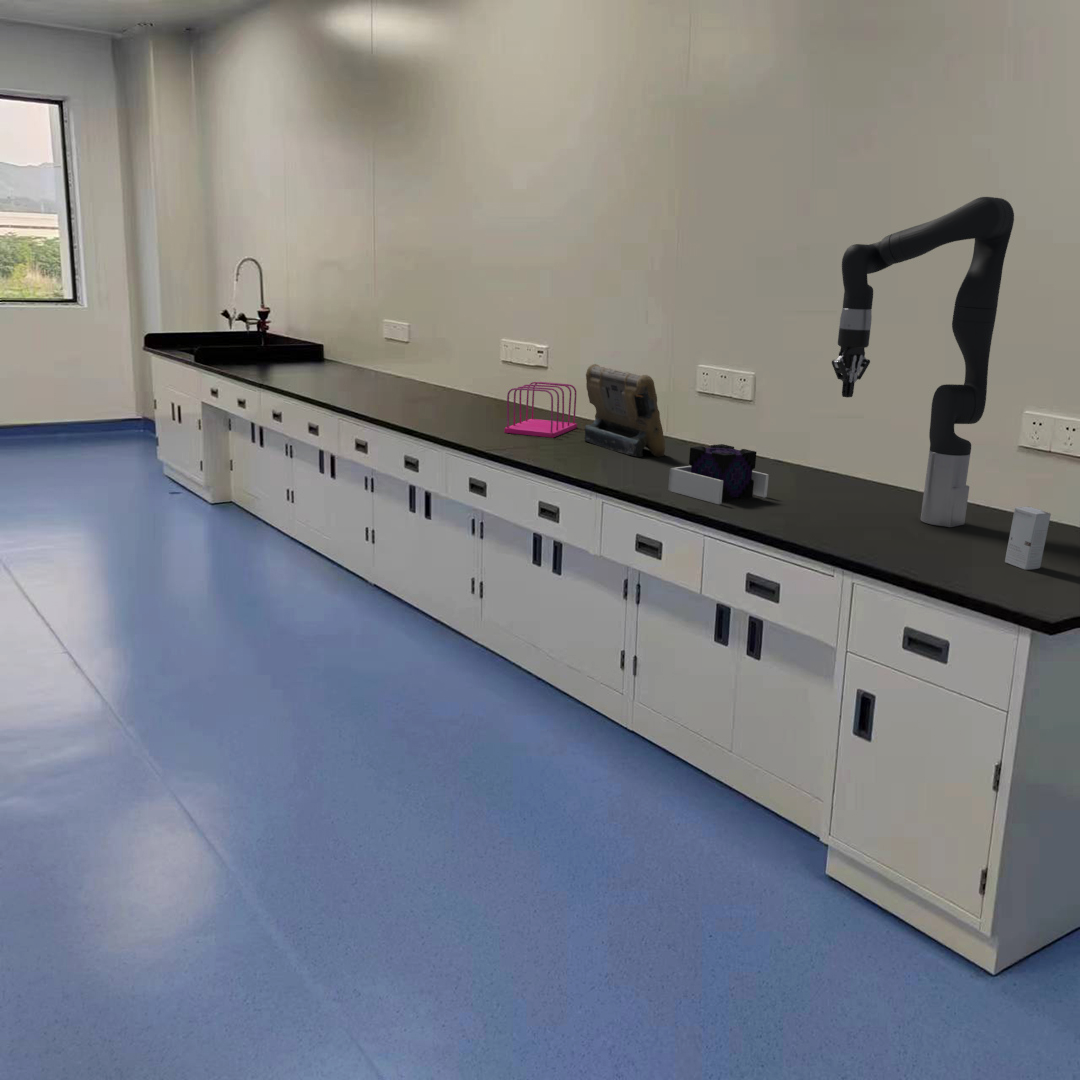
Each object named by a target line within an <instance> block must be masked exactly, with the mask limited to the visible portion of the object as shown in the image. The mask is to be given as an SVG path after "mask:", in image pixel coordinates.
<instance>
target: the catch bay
mask: <svg viewBox="0 0 1080 1080" xmlns="http://www.w3.org/2000/svg"><path fill="white" fill-rule="evenodd" d="M668 473H669V474H668V487H667V488H668V492H672V493H675V494H679V495H683V496H685V497H690V498H694V499H697V500H701V501H704V502H707V503H711V504H712V503H713V504H715V505H722V502H723V501H722V490H723V480H719V479H715V478H711V477H707V476H703V475H699V474H695V473H691V465H685V466H678V467H677V466H676V467H670V468H669V472H668ZM769 476H770V475H769V474H767V473H763V472H760V471H755V470H752V480H753V481H754V485H753V496H757V497H760V498H767V495H768V486H769Z"/></svg>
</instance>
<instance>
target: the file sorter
mask: <svg viewBox="0 0 1080 1080" xmlns="http://www.w3.org/2000/svg"><path fill="white" fill-rule="evenodd" d="M563 387H565V388H567V389H568V391H569V400H568V415H567V422H566V421H565V392H564V390H563ZM555 388H556V389H555ZM571 388H572V389H573V390H574V401H573V402H574V403H573V417H572V422H570V420H571V409H572V408H571V406H572V405H571V403H572V389H571ZM557 389H559V390H560V391H561V394H562V395H561V398H562V399H561V401H562V402H561V403H562V406H561V407H562V410H561V414H562V415H561V421H559V418H560V417H559V416H560V393H559V392H558V390H557ZM512 391H514V392H513V420H512V421H513V424H512V425H510V415H509V414H510V393H511V392H512ZM517 391H519V395H518V396H519V400H518V401H519V406H518V407H519V408H518V409H519V413H518V414H519V422H517V423H516V401H517V400H516V397H517V395H516V394H517ZM523 391H527V392H526V402H525V403H526V406H525V407H526V408H525V410H526V411H525V420H523V421H522V392H523ZM530 391H531V392H532V394H531V399H532V400H531V418H529V417H528V415H529V396H530ZM551 391H553V392H555V394H556V399H557V400H556V401H557V402H556V420H554V397H553V394H552V392H551ZM535 392H545V393H548V394H549V396H550V399H551V400H550V401H551V402H550V403H551V404H550V405H551V406H550V407H551V408H550V413H551V414H550V420H548V419H537V418H534V412H535V410H534V407H535ZM576 407H577V388H576V387H575V386H574V385H573V384H569V383H561V382H560V383H559V382H550V381H549V382H547V381H533V382H530V383H529V384H524V385H521V386H518V387H513V388H511V389H509V390H508V392H507V396H506V427H504V431H503V432H504V433H506V434H512V435H513V434H514V435H524V436H533V437H541V438H552V439H554V438H555V437H556V438H557V437H558V436H561V435H563V434H565V433H568V432H570V431H573V430H575V429H577V428H578V423H576V410H577V409H576Z"/></svg>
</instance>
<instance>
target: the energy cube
mask: <svg viewBox="0 0 1080 1080" xmlns="http://www.w3.org/2000/svg"><path fill="white" fill-rule="evenodd" d="M756 460H757V451H755V450H752V449H747V448H746V449H745V448H741V449H737V448H735V446H732V445H727V444H722V443H721V444H713V445H710V447H705V446H692V447H690V448H689V459H688V464H689V466H691V473H695V474H699V475H703V476H707V477H711V478H715V479H719V480H723V490H722V502H727V501H728V502H729V501H733V499H735V498H738V499H741V500H743V499H747V498H753V496H754V495H753V485H754V481H753V480H752V471H754V469H756V464H757V463H756V462H757V461H756Z"/></svg>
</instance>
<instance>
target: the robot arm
mask: <svg viewBox="0 0 1080 1080" xmlns="http://www.w3.org/2000/svg"><path fill="white" fill-rule="evenodd" d="M1014 222H1015V213H1014V209H1013V207H1012V205H1011V203H1010V201H1008V200H1006V199H1004V198H1002V197H1000V198H999V197H992V196H981V197H978V198H975V199H973V200H971V201H969V202H967V203H965V204H964V205H962V206H960V207H958V208H956V209H955V210H952V211H950V212H948V213H947V214H944V215H942V216H940V217H938V218H935V219H932V220H930V221H927V222H924V223H921V224H918V225H915V226H912V227H908V228H906V229H903V230H900V231H897V232H894V233H891V234H889V235H887V236H885V237H883V238H882V239H881V240H879V241H877V242H874V243H870V244H866V243H865V244H863V243H854V244H851V245H850V246H848V247H847V248H846V250H845V252H844V254H843V256H842V259H841V275H842V283H843V290H844V291H843V300H842V308H841V313H840V317H839V327H838V335H837V336H838V338H837V345H838V346H839V347H840V349H839V352H838V357H837V358H836V359H832V360H831V365H832V367H833V370H834V373H835V375H836V378H837V379H838V380H840V381H841V382H842V387H841V388H842V389H841V397H842V398H852V397H853V396H854V392H855V391H854V390H855V383H857V382H858V381H857V380H861V379H862V377H863V376H864V374H865V373H866V371H867V369H868V367H869V365H870V363H871V360H870V359H868V358H866V356H865V355H866V350H865V349H866V348H868V347H869V345H870V339H871V338H870V336H871V329H872V328H871V327H872V321H873V319H872V317H873V316H872V311H873V302H874V301H873V300H874V299H873V298H874V288H873V287H872V286H871V285H869V283H868V274H874V273H877V272H881V271H882V270H885V269H887V268H890V267H891V266H893V265H896V264H899V263H900V264H901V263H903V262H906V261H909V260H912V259H915V258H917V257H921V256H923V255H925V254H928V253H929V252H932V251H933V250H935V249H937V248H939V247H941V246H944V245H947V244H950V243H953V242H959V241H965V240H973V239H974V246H973V252H972V253H973V254H972V258H971V263H970V264H969V265H970V266H969V268H968V271H967V272H966V275H965V276H964V279H963V281H962V282H961V284H960V287H959V289H958V292H957V293H956V297H955V302H954V306H953V314H952V320H951V328H952V329H951V330H952V334H953V336H954V338H955V341H956V344H957V345H958V347H959V350H960V351H961V354H962V356H963V360H964V365H965V375H964V383H963V384H953V383H951V384H950V383H949V384H947V383H945V384H941V385H940V386H938V387H937V388H936V389H935V392H934V393H933V396H932V401H931V406H930V407H931V408H930V411H931V412H930V425H929V433H928V434H929V435H928V436H929V451H928V452H929V453H928V458H927V459H928V460H927V464H926V465H927V467H926V474H925V481H924V489H923V496H922V504H921V511H920V514H921V515H920V521H921V522H922V523H925V524H929V525H933V526H939V527H947V528H953V527H958V526H963V525H965V523H966V521H965V520H966V515H967V506H968V501H969V500H968V499H969V494H970V485H967V482H968V473H969V466H970V459H971V452H972V443H971V442H970V440H967V439H965V438H963V437H961V436H959V435H957V434H956V432H955V425H972V424H976V423H978V422H979V421H980V420H981V418H982V417H983V414H984V412H985V407H986V402H987V394H988V393H987V391H988V390H987V389H988V377H989V375H988V373H989V362H990V354H991V353H990V352H991V346H992V339H993V334H994V329H995V324H996V317H997V311H998V309H997V308H998V304H999V294H1000V289H1001V283H1002V277H1003V276H1002V275H1003V268H1004V261H1005V257H1006V253H1007V250H1008V246H1009V243H1010V238H1011V235H1012V231H1013V228H1014Z"/></svg>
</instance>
